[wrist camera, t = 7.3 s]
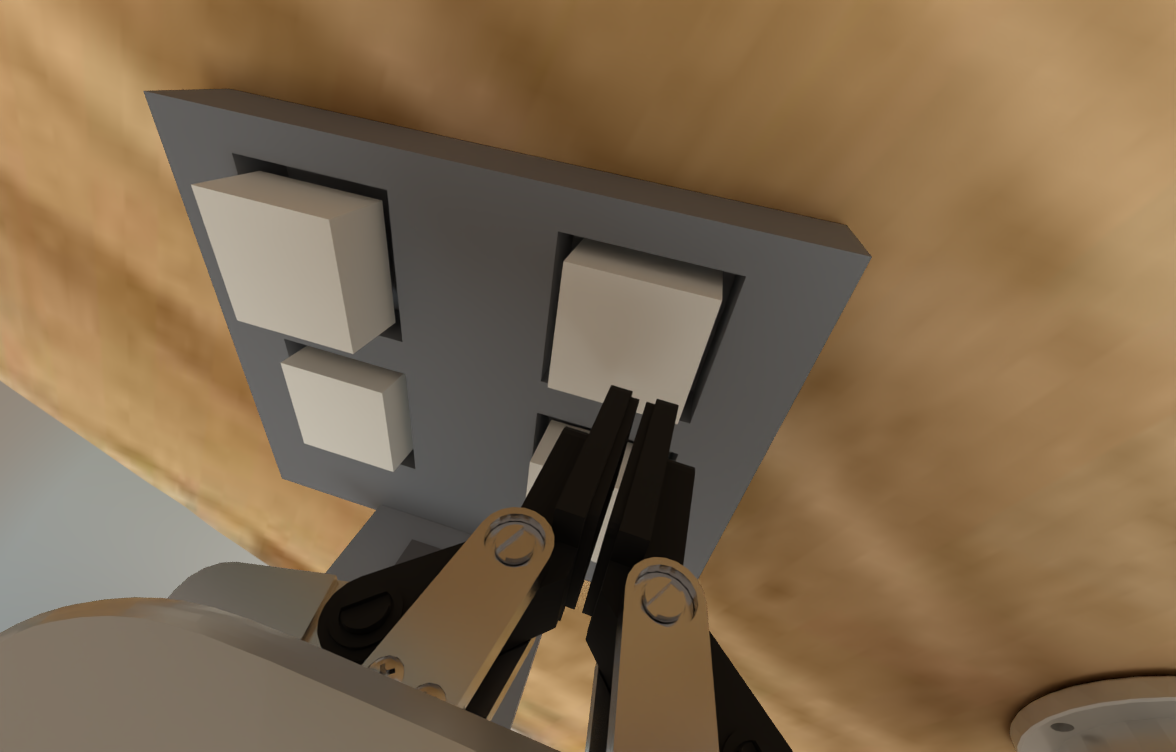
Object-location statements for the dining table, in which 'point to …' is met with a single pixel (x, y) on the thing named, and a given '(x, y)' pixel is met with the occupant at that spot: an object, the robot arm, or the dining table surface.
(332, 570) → the card
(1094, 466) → the dining table surface
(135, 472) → the dining table surface
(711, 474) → the board
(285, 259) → the button
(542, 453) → the button
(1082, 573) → the dining table surface
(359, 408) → the button
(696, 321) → the button
